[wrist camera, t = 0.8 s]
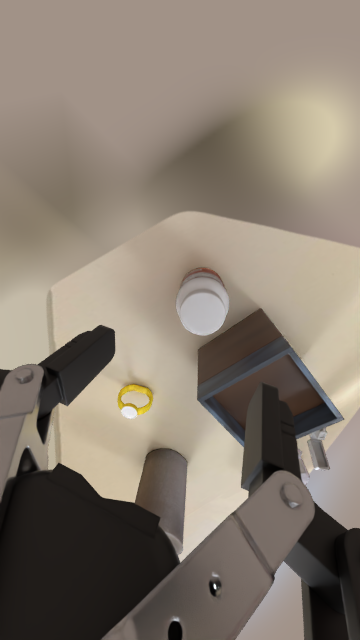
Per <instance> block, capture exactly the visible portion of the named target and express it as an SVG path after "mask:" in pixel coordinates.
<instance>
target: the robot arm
mask: <svg viewBox="0 0 360 640" xmlns="http://www.w3.org/2000/svg"><path fill="white" fill-rule="evenodd" d="M114 354H115V331H114V330H113V329H111V328H108V327H105V326H102V325H99V326H98V327H96V328H95V329H94V330H92V331H87V332H84V333H82V334H79V335H78V336H76V337H75V338H74V339H72V340H71V341H69V342H68V343H67V344H65V346H63V347H61V348H60V349H58V350H57V351H56V352H54V353H53V354H52V355H50V356H49V357H47V358H46V359H45V360H44V361H42V362H41V363H39V364H38V365H36V364H27V365H22V366H20V367H17V368H15V369H14V370H2V369H0V640H235V639H236V638H237V636H238V635H239V633H240V632H241V630H242V629H243V627H244V626H245V624H246V623H247V622H248V620H249V619H250V617H251V616H252V614H253V613H254V612H255V610H256V608H257V607H258V606H259V604H260V603H261V601H262V600H263V599H264V597H265V596H266V594H267V593H268V591H269V589H270V588H271V586H272V584H273V582H274V579H275V577H274V575H275V573H276V571H277V569H278V568H279V566H280V565H281V563H282V562H283V561H284V562H285V563H286V564H287V565H288V566H289V567H290V568H291V569H292V570H293V571H294V572H295V573H296V574H297V575H298V576H299V577H301V585H302V601H303V603H302V604H303V621H304V640H360V529H359V528H352V529H350V530H347V529H346V528H344V527H343V526H342V525H341V524H339V523H338V522H337V521H336V520H334V519H333V518H332V517H331V516H329V515H328V514H327V513H326V512H324V511H323V510H322V509H321V508H320V507H319V506H318V505H317V504H316V503H315V502H314V501H313V499H312V496H311V494H310V492H309V490H308V489H307V487H306V486H305V485H304V483H303V481H302V478H301V472H300V464H299V456H298V449H297V441H296V437H295V436H296V434H295V428H294V419H293V413H292V412H291V410H290V408H289V406H288V404H287V403H286V402H283V401H281V400H279V391H278V388H277V387H275V386H272V385H269V384H267V383H264V382H260V383H259V385H258V387H257V389H256V391H255V393H254V395H253V397H252V399H251V401H250V403H249V406H248V410H247V418H246V430H245V442H244V454H243V467H242V479H241V488H243V489H245V490H248V491H249V496H248V499H247V500H246V501H245V502H244V503H243V504H242V505H241V506H240V507H239V508H237V509H236V510H235V511H234V512H233V513H231V514H230V515H229V516H228V517H227V518H226V519H225V520H224V521H223V522H222V523H221V524H220V525H219V526H218V527H217V528H216V529H215V530H214V531H213V532H212V533H211V534H210V535H208V536H207V537H206V538H205V539H204V540H203V541H202V542H201V543H200V544H199V545H198V546H197V547H196V548H195V549H194V550H193V551H192V552H191V553H190V554H189V555H188V556H187V557H186V558H185V559H184V560H183V561H182V562H181V563H180V561H179V557H178V555H177V553H176V550H175V548H174V546H173V544H172V542H171V540H170V538H169V537H168V536H167V534H166V533H165V531H164V530H163V529H162V528H161V527H160V526H159V522H160V518H161V517H159V516H157V515H155V514H154V513H152V512H150V511H148V510H146V509H144V508H142V507H141V506H139V505H137V504H135V503H132V502H126V501H119V500H113V499H106V498H102V497H101V496H100V495H99V494H98V493H97V492H96V491H95V490H94V488H93V487H92V486H91V485H90V484H89V483H88V482H87V480H86V479H85V478H84V477H83V476H82V475H81V474H79V473H77V472H75V471H73V470H71V469H70V468H68V467H66V466H64V465H62V464H60V463H58V464H57V466H56V467H55V468H54V469H53V470H48V446H49V440H50V435H51V429H52V424H53V419H54V413H55V406H56V405H57V404H58V403H59V402H60V403H62V404H64V405H66V406H68V405H69V404H70V403H71V402H72V401H73V400H74V399H75V398H76V397H77V396H78V395H79V394H80V393H81V391H82V390H83V389H84V388H85V387H86V386H87V385H88V384H89V383H90V382H91V381H92V380H93V379H94V378H95V377H96V376H97V375H98V374H99V373H100V372H101V371H102V369H103V368H104V367H105V366H106V365H107V364H108V363H109V362H110V361H111V360H112V358H113V356H114Z"/></svg>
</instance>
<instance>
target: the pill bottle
mask: <svg viewBox="0 0 360 640" xmlns="http://www.w3.org/2000/svg"><path fill="white" fill-rule="evenodd" d="M176 310H177V313H178V315H179V317H180V320H181V322H182V324H183V326H184V327H185V328H186V329H187V330H188V331H189V332H191V333H193V334H196V335H209V334H212V333H214V332H216V331H217V330H218V329H219V328H220V327H221V326H222V325H223V323H224V321H225V317H226V315H227V313H228V310H229V296H228V293H227V291H226V289H225V287H224V284H223V282H222V280H221V278H220V277H219V275H218V274H217V273H216V272H214V271H213V270H211V269H208V268H197V269H194V270H192V271H190V272H189V273H188V274H187V275H186V276H185V277H184V279H183V281H182V283H181V286H180V289H179V292H178V294H177V298H176Z"/></svg>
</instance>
